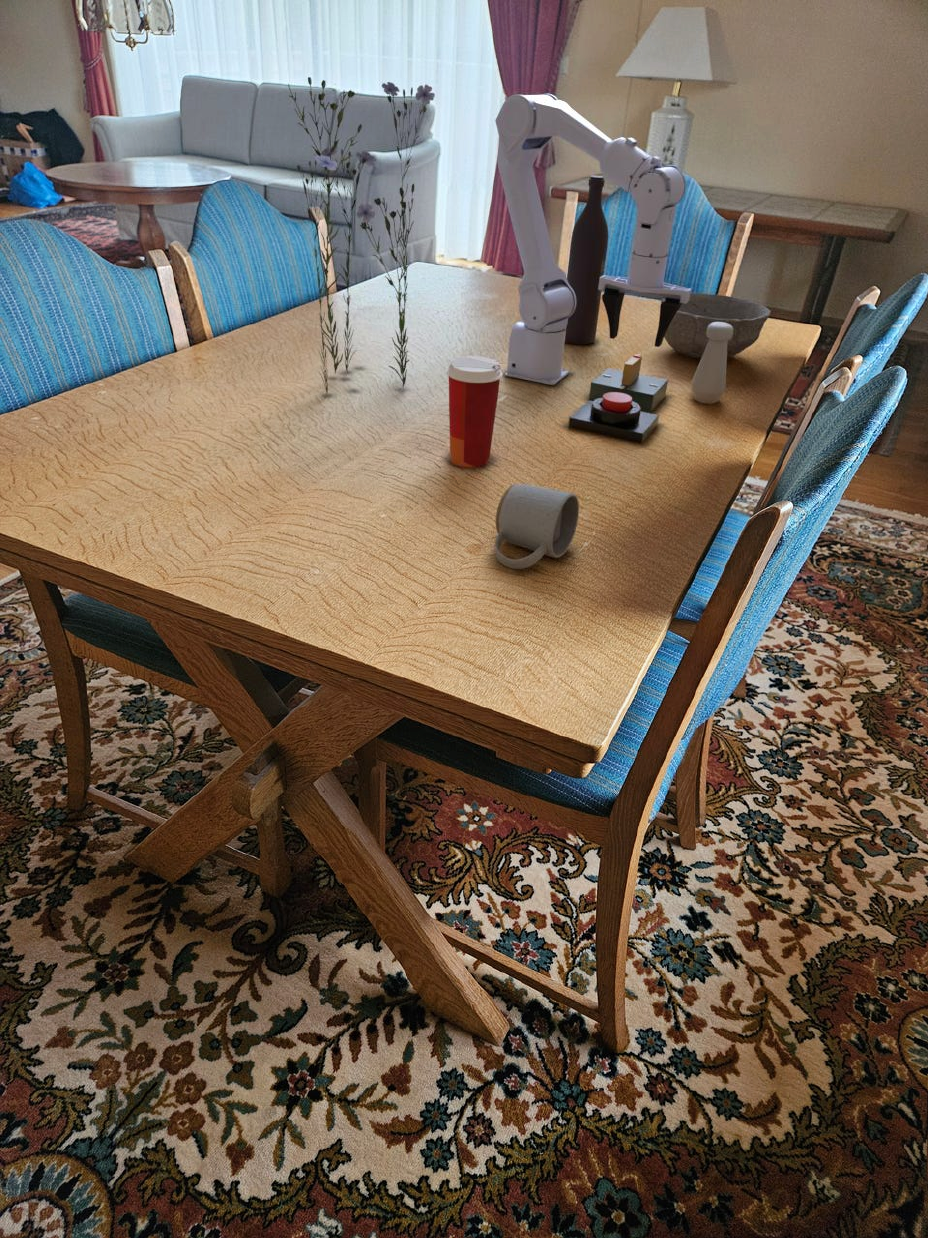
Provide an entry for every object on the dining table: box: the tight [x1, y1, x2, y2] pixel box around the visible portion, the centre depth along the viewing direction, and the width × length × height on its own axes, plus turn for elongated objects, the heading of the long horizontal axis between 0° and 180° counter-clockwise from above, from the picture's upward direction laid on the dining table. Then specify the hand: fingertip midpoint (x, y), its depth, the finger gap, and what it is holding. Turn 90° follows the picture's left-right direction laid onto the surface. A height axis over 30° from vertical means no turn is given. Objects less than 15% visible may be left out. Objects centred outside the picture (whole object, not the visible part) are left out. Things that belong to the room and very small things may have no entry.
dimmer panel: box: [588, 367, 669, 413], centre depth 148 cm, size 11×10×3 cm
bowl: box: [660, 292, 771, 360], centre depth 168 cm, size 21×21×10 cm
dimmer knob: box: [621, 353, 643, 386], centre depth 146 cm, size 6×1×4 cm, turn 153°
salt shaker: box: [690, 322, 733, 405], centre depth 146 cm, size 6×6×13 cm
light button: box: [602, 392, 632, 411], centre depth 135 cm, size 5×5×2 cm
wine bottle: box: [565, 175, 609, 346], centre depth 167 cm, size 7×7×30 cm
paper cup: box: [445, 355, 504, 468], centre depth 120 cm, size 8×8×14 cm
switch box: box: [568, 398, 660, 444], centre depth 137 cm, size 12×9×4 cm
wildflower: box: [287, 76, 436, 396], centre depth 136 cm, size 22×23×45 cm
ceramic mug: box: [493, 483, 580, 570], centre depth 101 cm, size 11×8×8 cm
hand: (635, 340), depth 142 cm, fingers open, 7 cm apart
